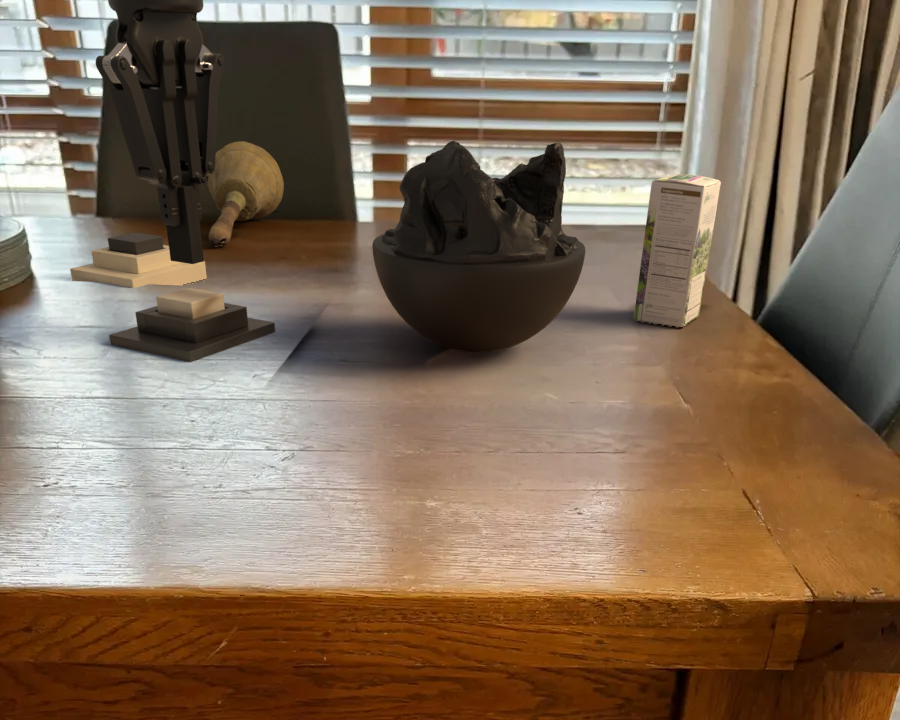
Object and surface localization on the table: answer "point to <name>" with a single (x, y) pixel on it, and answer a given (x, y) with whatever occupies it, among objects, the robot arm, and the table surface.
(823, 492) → the table surface
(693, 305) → the syrup box
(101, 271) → the stepped ziggurat stack
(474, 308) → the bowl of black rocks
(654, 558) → the table surface
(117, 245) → the key far
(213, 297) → the key near
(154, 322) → the tiered square pedestal
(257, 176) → the handbell
